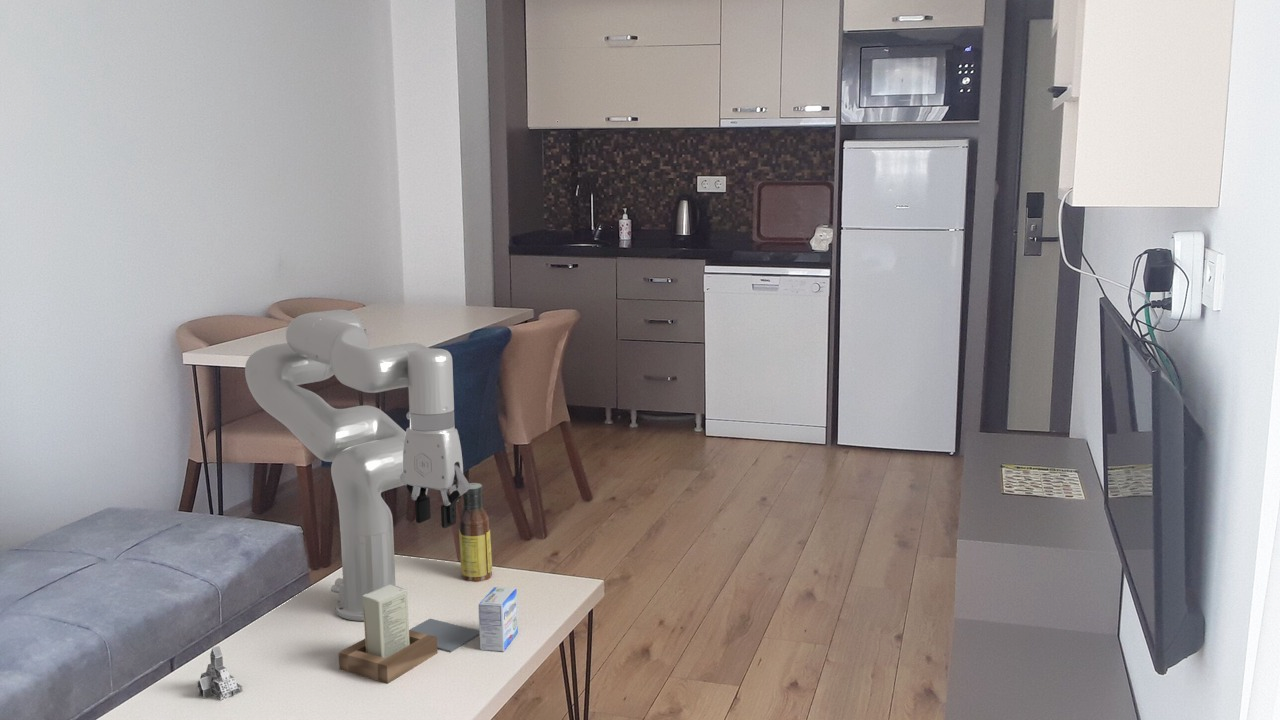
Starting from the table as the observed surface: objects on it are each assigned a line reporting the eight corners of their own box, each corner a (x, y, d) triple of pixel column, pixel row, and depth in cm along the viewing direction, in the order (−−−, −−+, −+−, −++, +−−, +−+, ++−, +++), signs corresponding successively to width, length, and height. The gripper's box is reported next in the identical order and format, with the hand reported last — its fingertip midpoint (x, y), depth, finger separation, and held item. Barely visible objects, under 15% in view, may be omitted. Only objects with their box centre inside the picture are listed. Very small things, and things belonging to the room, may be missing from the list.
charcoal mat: (396, 638, 185) (396, 636, 185) (430, 620, 193) (429, 618, 193) (450, 652, 180) (450, 650, 179) (482, 633, 187) (482, 631, 187)
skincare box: (394, 650, 180) (391, 583, 178) (411, 657, 178) (408, 589, 176) (364, 663, 176) (361, 594, 174) (381, 671, 173) (378, 600, 171)
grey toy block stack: (162, 697, 165) (158, 651, 164) (214, 677, 172) (211, 633, 170) (191, 715, 159) (187, 667, 158) (244, 693, 166) (241, 648, 165)
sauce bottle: (478, 571, 218) (475, 478, 214) (499, 578, 214) (496, 484, 210) (453, 580, 213) (450, 485, 209) (474, 587, 209) (471, 491, 205)
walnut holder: (339, 669, 173) (338, 652, 173) (390, 641, 184) (390, 625, 184) (387, 683, 168) (386, 665, 168) (437, 653, 179) (436, 636, 179)
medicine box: (504, 652, 180) (502, 604, 178) (479, 650, 180) (477, 602, 179) (518, 633, 187) (517, 587, 186) (494, 631, 188) (493, 585, 187)
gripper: (379, 420, 181) (383, 522, 184) (458, 430, 173) (461, 537, 176) (408, 412, 187) (412, 510, 190) (485, 421, 179) (488, 524, 182)
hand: (436, 522), depth 183 cm, fingers open, 5 cm apart
